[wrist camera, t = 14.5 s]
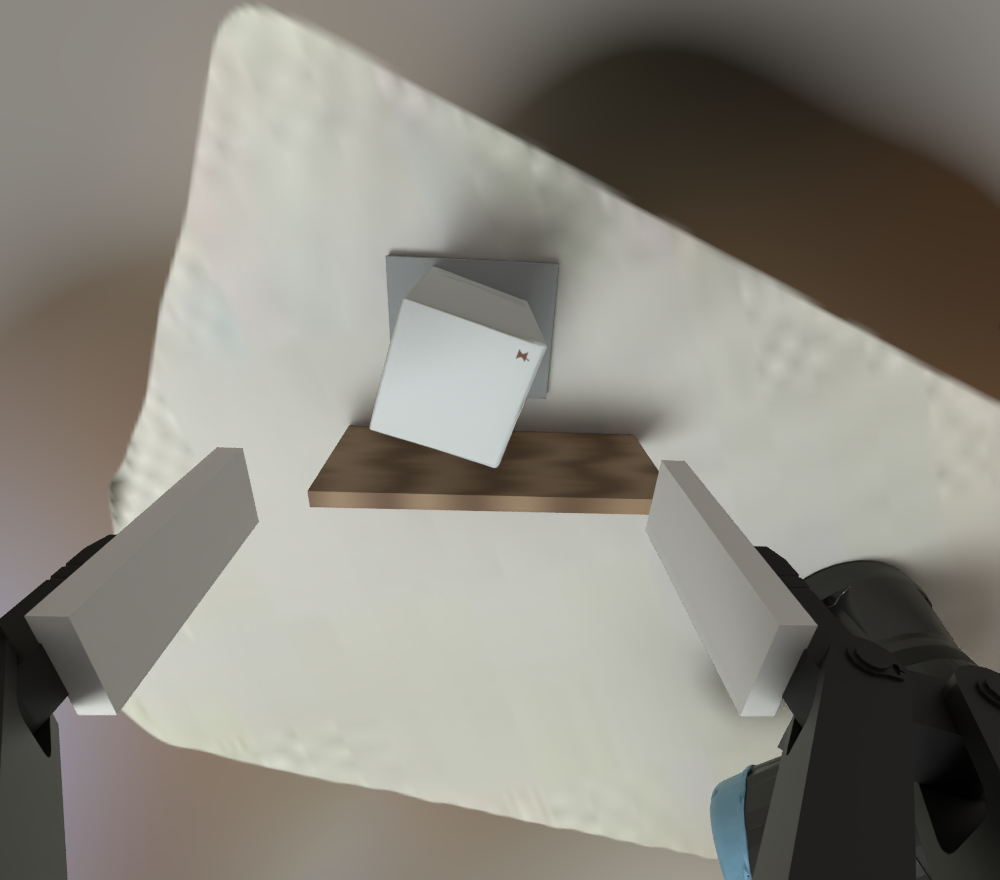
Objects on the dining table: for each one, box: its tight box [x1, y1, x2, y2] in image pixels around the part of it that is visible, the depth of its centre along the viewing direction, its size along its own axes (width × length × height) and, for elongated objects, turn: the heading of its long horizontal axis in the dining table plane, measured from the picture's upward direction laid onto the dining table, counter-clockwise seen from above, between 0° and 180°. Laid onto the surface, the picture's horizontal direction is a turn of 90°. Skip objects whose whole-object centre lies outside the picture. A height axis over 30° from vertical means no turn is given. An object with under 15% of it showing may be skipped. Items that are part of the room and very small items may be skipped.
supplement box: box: [370, 267, 547, 468], centre depth 29 cm, size 7×7×13 cm
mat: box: [386, 255, 559, 399], centre depth 35 cm, size 12×10×1 cm
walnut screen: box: [308, 426, 659, 515], centre depth 35 cm, size 24×1×10 cm, turn 87°
